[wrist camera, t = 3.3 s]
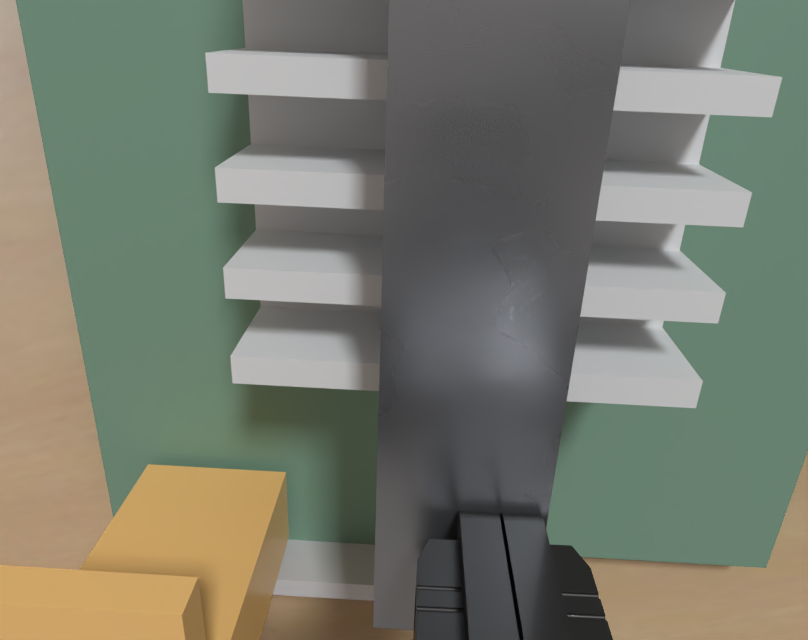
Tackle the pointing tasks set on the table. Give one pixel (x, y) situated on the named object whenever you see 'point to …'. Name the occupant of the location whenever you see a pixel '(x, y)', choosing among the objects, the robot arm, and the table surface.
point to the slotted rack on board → (362, 266)
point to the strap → (482, 259)
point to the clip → (164, 564)
